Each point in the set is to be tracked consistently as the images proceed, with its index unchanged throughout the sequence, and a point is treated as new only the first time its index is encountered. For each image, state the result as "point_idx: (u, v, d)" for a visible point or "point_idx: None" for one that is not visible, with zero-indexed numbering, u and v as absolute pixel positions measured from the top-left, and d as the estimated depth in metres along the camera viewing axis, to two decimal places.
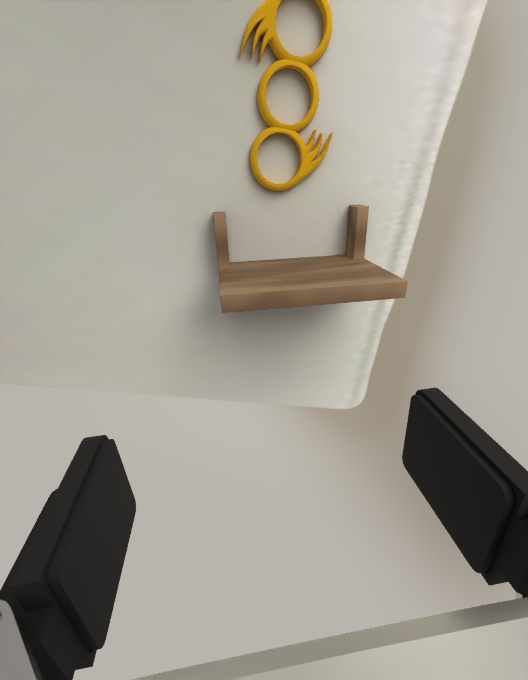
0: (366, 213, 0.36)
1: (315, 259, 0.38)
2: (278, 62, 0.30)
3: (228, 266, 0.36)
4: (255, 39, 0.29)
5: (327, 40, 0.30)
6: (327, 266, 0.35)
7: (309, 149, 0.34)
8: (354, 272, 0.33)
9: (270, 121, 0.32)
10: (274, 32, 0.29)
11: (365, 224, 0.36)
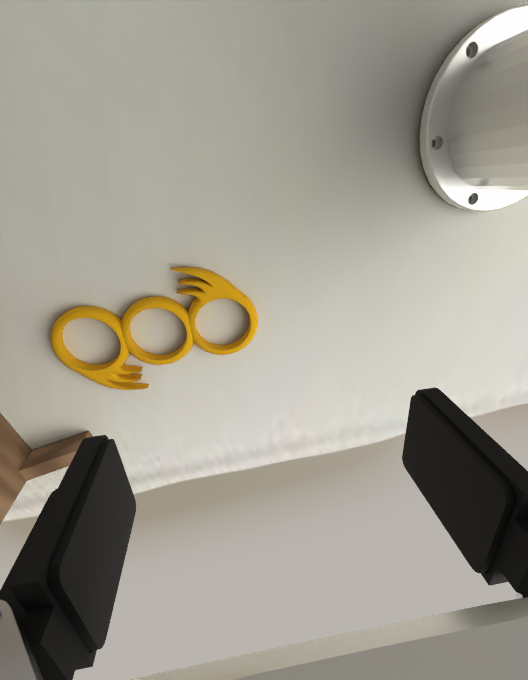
0: None
1: None
2: (182, 313, 0.27)
3: None
4: (191, 283, 0.26)
5: (220, 353, 0.29)
6: None
7: (117, 373, 0.28)
8: None
9: (123, 322, 0.26)
10: (205, 301, 0.26)
11: (65, 465, 0.29)
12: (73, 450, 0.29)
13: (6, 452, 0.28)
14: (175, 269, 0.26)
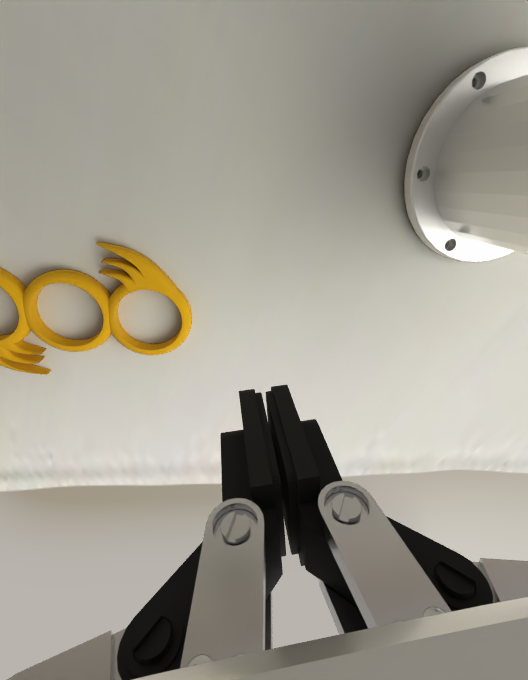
0: None
1: None
2: (102, 297, 0.23)
3: None
4: (117, 265, 0.22)
5: (140, 352, 0.25)
6: None
7: (10, 349, 0.23)
8: None
9: (26, 291, 0.22)
10: (131, 289, 0.23)
11: None
12: None
13: None
14: (101, 244, 0.21)
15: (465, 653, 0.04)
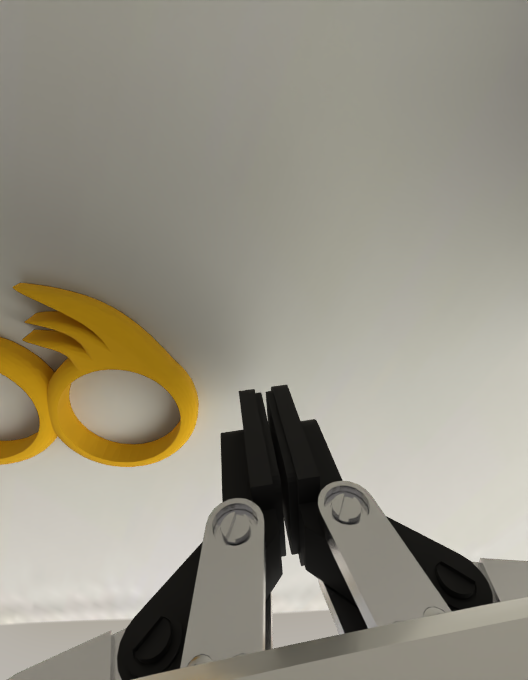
0: None
1: None
2: (33, 381, 0.12)
3: None
4: (57, 328, 0.11)
5: None
6: None
7: None
8: None
9: None
10: (85, 369, 0.12)
11: None
12: None
13: None
14: (24, 289, 0.11)
15: (465, 653, 0.04)
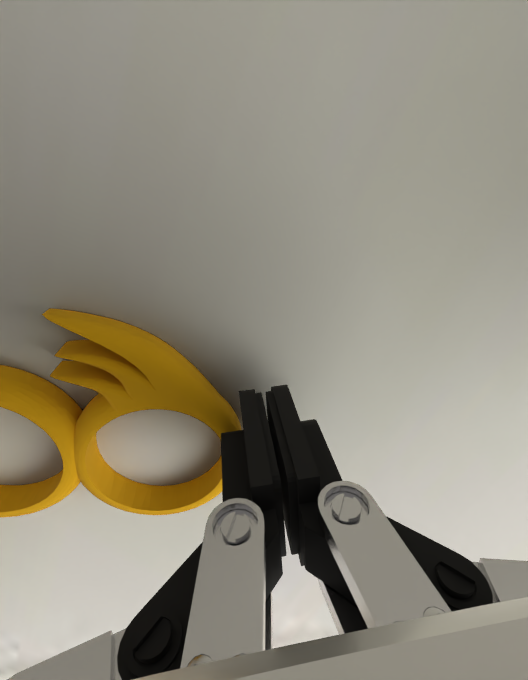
0: None
1: None
2: (59, 423, 0.10)
3: None
4: (94, 362, 0.10)
5: (140, 513, 0.12)
6: None
7: None
8: None
9: None
10: (123, 410, 0.10)
11: None
12: None
13: None
14: (56, 317, 0.09)
15: (465, 653, 0.04)
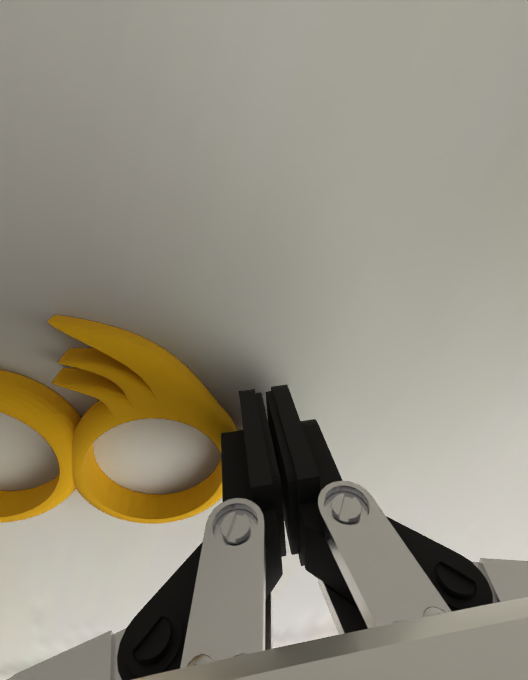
0: None
1: None
2: (58, 429, 0.10)
3: None
4: (97, 371, 0.10)
5: None
6: None
7: None
8: None
9: None
10: (123, 418, 0.10)
11: None
12: None
13: None
14: (61, 325, 0.09)
15: (465, 653, 0.04)
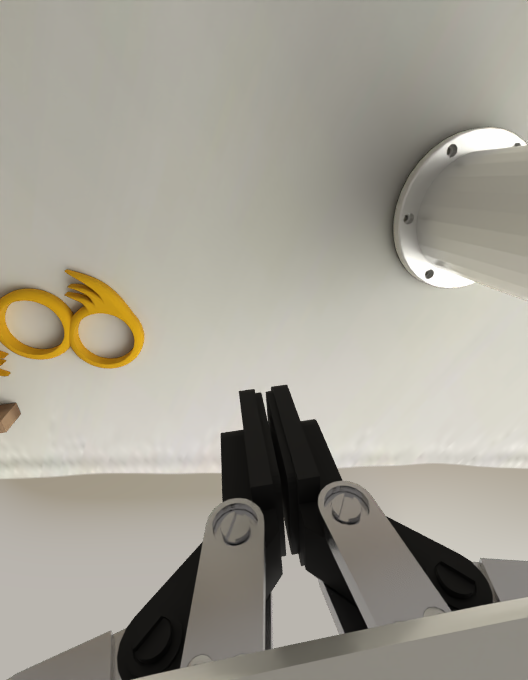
0: None
1: None
2: (65, 315, 0.26)
3: None
4: (82, 291, 0.26)
5: (95, 365, 0.28)
6: None
7: None
8: None
9: None
10: (91, 312, 0.26)
11: None
12: None
13: None
14: (69, 272, 0.25)
15: (465, 653, 0.04)
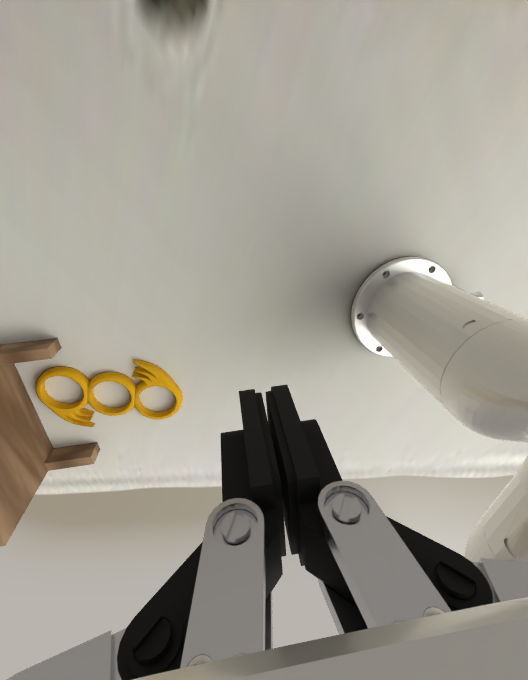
0: (87, 463, 0.42)
1: (36, 431, 0.40)
2: (132, 388, 0.40)
3: None
4: (143, 373, 0.39)
5: (150, 417, 0.42)
6: (22, 454, 0.37)
7: (75, 413, 0.40)
8: (14, 488, 0.35)
9: (90, 384, 0.39)
10: (149, 385, 0.40)
11: (78, 464, 0.42)
12: (86, 456, 0.42)
13: (40, 449, 0.40)
14: (135, 362, 0.39)
15: (465, 653, 0.04)
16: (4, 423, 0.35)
